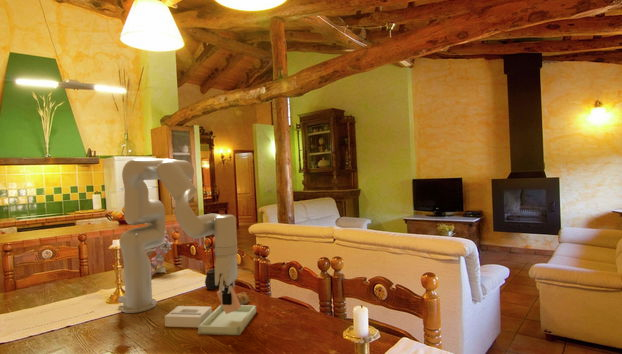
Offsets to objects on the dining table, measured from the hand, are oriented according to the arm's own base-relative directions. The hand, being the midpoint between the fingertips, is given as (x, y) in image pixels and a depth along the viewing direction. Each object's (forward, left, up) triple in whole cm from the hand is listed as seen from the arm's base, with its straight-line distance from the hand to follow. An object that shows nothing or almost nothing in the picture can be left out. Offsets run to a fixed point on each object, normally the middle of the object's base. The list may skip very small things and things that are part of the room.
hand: (228, 302), depth 120 cm
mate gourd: (-21, +34, -7) cm, 41 cm away
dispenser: (-15, 0, -7) cm, 17 cm away
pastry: (-3, +17, -7) cm, 19 cm away
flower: (-62, +50, -7) cm, 80 cm away
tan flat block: (+2, 0, -3) cm, 3 cm away
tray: (0, 0, -7) cm, 7 cm away
